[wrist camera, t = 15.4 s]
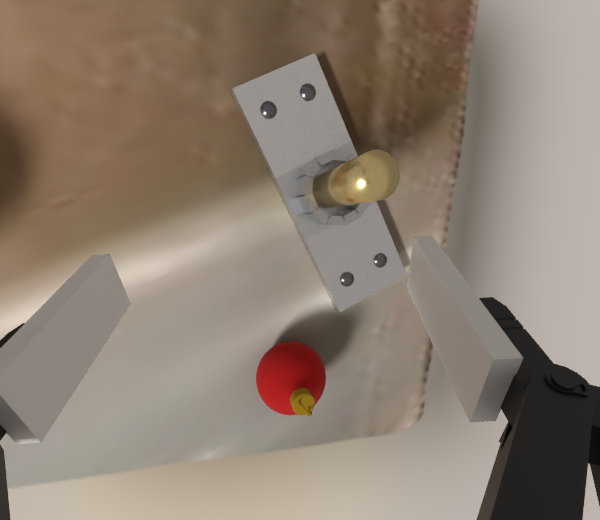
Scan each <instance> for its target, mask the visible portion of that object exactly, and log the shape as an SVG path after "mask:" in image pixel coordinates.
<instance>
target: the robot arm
mask: <svg viewBox="0 0 600 520" xmlns="http://www.w3.org/2000/svg"><path fill="white" fill-rule="evenodd" d="M407 290H408V292H409V294H410V297H411V299H412V301H413V303H414V305H415V307H416V309H417V311H418V313H419V315H420V318H421V320H422V322H423V324H424V326H425V328H426V330H427V332H428V334H429V337H430V339H431V341H432V343H433V345H434V347H435V349H436V351H437V353H438V356H439V358H440V360H441V362H442V364H443V366H444V368H445V370H446V372H447V374H448V377H449V379H450V381H451V383H452V385H453V387H454V389H455V391H456V394H457V396H458V397H459V400H460V402H461V404H462V406H463V408H464V410H465V412H466V415H467V417H468V418H469V421H470V422H480V421H482V422H483V421H496V419H497V417H498V414H499V412H500V410H501V409H502V411H503V413H504V414H505V416H506V418H507V420H508V424H507V426H506V428H505V430H504V432H503V434H502V436H501V438H500V440H499V442H501V444H500V447H499V450H498V453H497V457H496V460H495V463H494V466H493V470H492V473H491V476H490V479H489V482H488V485H487V488H486V492H485V495H484V498H483V501H482V504H481V508H480V511H479V514H478V517H477V520H582V517H583V507H584V497H585V487H586V476H587V466H588V463H589V464H590V466H591V470H592V475H593V479H594V484H595V488H596V492H597V496H598V501H599V505H600V387H597V386H593V385H589V383H588V382H587V381H586V380H585V379H584V378H583V377H581V376H580V375H579V374H578V373H576V372H574V371H572V370H570V369H568V368H566V367H564V366H560V365H557V364H554V363H553V362H552V361H551V360H550V359H549V357H548V356H547V355H546V354H545V353H544V351H543V350H542V349H541V348H540V347H539V345H538V344H537V343H536V342H535V341H534V339H533V338H532V337H531V336H530V335H529V333H528V332H527V331H526V330H525V329H523V326H522V325H521V324H520V323H519V321H518V320H516V319H515V316H514V315H513V314H512V313H511V312H510V310H508V308H507V307H506V306H505V305H503V304H502V303H500V302H499V301H497V300H496V299H494V298H493V297H490V298H478V297H477V295H476V294H475V292H474V291H473V290H472V288H471V287H470V286H469V284H468V283H467V282H466V281H465V279H464V278H463V276H462V275H461V274H460V272H459V271H458V270H457V268H456V267H455V266H454V264H453V263H452V262H451V260H450V259H449V258H448V256H447V255H446V254H445V252H444V251H443V250H442V248H441V247H440V246H439V244H438V243H437V242H436V240H435V239H434V238H433V236H421V237H414V242H413V248H412V255H411V262H410V269H409V276H408V283H407ZM130 304H131V303H130V301H129V298H128V296H127V294H126V291H125V289H124V287H123V284H122V282H121V279H120V277H119V275H118V272H117V270H116V268H115V265H114V263H113V261H112V258H111V256H110V254H105V255H92V256H91V257H90V258H89V259H88V260H87V261H86V262H85V263H84V264H83V265H82V266H81V267H80V268H79V269H78V270H77V271H76V272H75V273H74V274H73V275H72V276H71V277H70V278H69V279H68V280H67V281H66V282H65V283H64V284H63V285H62V286H61V287H60V288H59V289H58V290H57V291H56V293H55V294H54V295H53V296H52V297H51V298H50V299H49V300H48V301H47V302H46V303H45V304H44V305H43V306H42V307H41V308H40V309H39V310H38V311H37V312H36V313H35V314H34V315H33V316H32V317H31V318H30V319H29V320H28V321H27V322H26V323H23V324H21V325H20V326H18V327H17V328H15V329H14V330H12V331H11V332H9V333H8V334H7V335H6V336H5V337H4V338H2V339H1V340H0V440H1V439H2V438H3V436H4V435H5V434H6V433H7V434H8V435H9V436H10V437H11V438H12V439H13V440H14V441H15V442H16V444H18V443H39V442H42V440H43V439H44V437H45V435H46V434H47V432H48V431H49V429H50V428H51V426H52V425H53V423H54V422H55V420H56V418H57V417H58V415H59V414H60V412H61V411H62V409H63V408H64V406H65V404H66V403H67V401H68V400H69V398H70V397H71V395H72V394H73V392H74V391H75V389H76V387H77V386H78V384H79V383H80V381H81V380H82V378H83V377H84V375H85V373H86V372H87V370H88V369H89V367H90V366H91V364H92V363H93V361H94V360H95V358H96V356H97V355H98V353H99V352H100V350H101V349H102V347H103V346H104V344H105V343H106V341H107V339H108V338H109V336H110V335H111V333H112V332H113V330H114V329H115V327H116V325H117V324H118V322H119V321H120V319H121V318H122V316H123V315H124V313H125V312H126V310H127V308H128V307H129V305H130ZM0 520H10V512H9V501H8V491H7V480H6V469H5V459H4V450H3V448H2V446H1V445H0Z"/></svg>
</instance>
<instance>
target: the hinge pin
mask: <svg viewBox="0 0 600 520" xmlns="http://www.w3.org/2000/svg"><path fill="white" fill-rule="evenodd" d="M399 178H400V173H399V168H398V165H397V163H396V161H395V159H394V158H393V157H392V156H391V155H390V154H389V153H387V152H385V151H382V150H371V151H368V152H366V153H364V154H362V155H360V156H358V157H356V158H353V159H351V160H349V161H347V162H345V163H343V164H341V165H339V166H337V167H335V168H333V169H331V170H329V171H327V172H325V173H322V174H320V175H319V176H317V177H316V178H315V179H314V181H313V190H312V194H313V196H314V198H315V201H316V203H317V205H319V206H320V207H323V208H333V207H340V206H346V205H353V204H360V203H366V202H373V201H379V200H384V199H386V198H388V197H389V196H391V195H392V194H393V193H394V191H395V190H396V188H397V186H398V183H399Z"/></svg>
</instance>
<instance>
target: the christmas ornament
mask: <svg viewBox="0 0 600 520" xmlns="http://www.w3.org/2000/svg"><path fill="white" fill-rule="evenodd" d="M325 380H326V375H325V369H324V365H323V363H322V361H321V359H320V357H319V356H318V354H317V353H316V352H315V351H314V350H313V349H312V348H310V347H309V346H307V345H305V344H302V343H299V342H284V343H280V344H278V345H276V346H274V347H272V348H271V349H270V350H268V351H267V352H266V354H265V355H264V356H263V358H262V359H261V361H260V363H259V366H258V369H257V374H256V383H257V388H258V391H259V394H260V396H261V398H262V400H263V401H264V402H265V404H266V405H267V406H268V407H270V408H271V409H272V410H274V411H276V412H278V413H281V414H284V415H297V414H299V415H306V414H307V415H308V416H311V415H312V412H311V411H312V410H313V408H314V405H315V404H316V403H317V402H318V400H319V399H320V397H321V395H322V393H323V391H324V387H325Z"/></svg>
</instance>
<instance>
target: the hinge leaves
mask: <svg viewBox="0 0 600 520" xmlns="http://www.w3.org/2000/svg"><path fill="white" fill-rule="evenodd" d="M232 96H233V99H234V101H235V103H236V105H237V107H238V109H239V111H240V113H241V115H242V117H243V119H244V121H245V123H246V125H247V127H248V129H249V132H250V134H251V136H252V138H253V140H254V142H255V144H256V146H257V148H258V150H259V152H260V154H261V156H262V158H263V160H264V163H265V165H266V167H267V169H268V171H269V173H270V175H271V177H272V179H273V181H274V183H275V185H276V187H277V189H278V191H279V193H280V196H281V198H282V200H283V202H284V204H285V206H286V208H287V210H288V212H289V214H290V216H291V218H292V220H293V222H294V224H295V227H296V229H297V231H298V233H299V235H300V237H301V239H302V241H303V243H304V245H305V247H306V249H307V251H308V253H309V255H310V257H311V260H312V262H313V264H314V266H315V268H316V270H317V272H318V274H319V276H320V278H321V280H322V282H323V284H324V286H325V288H326V290H327V293H328V295H329V297H330V299H331V301H332V303H333V305H334V307H335V309H336V310H338V311H339V312H342V311H344V310H345V309H347V308H349V307H350V306H352V305H354V304H356V303H357V302H359V301H361V300H362V299H364V298H366V297H368V296H369V295H371V294H373V293H374V292H376V291H378V290H380V289H381V288H383V287H385V286H386V285H388V284H390V283H391V282H393V281H395V280H397V279H398V278H400V277H402V276H403V275H405V274H406V271H405V269H404V266H403V264H402V262H401V259H400V257H399V254H398V252H397V250H396V247H395V245H394V242H393V240H392V237H391V235H390V233H389V230H388V228H387V225H386V223H385V221H384V218H383V216H382V213H381V211H380V209H379V206H378V204H377V201H373V202H366V203H360V204H353V205H346V206H340V207H333V208H323V207H320V206H319V205H317V203H316V201H315V198H314V196H313V194H312V190H313V181H314V179H315V178H316V177H317V176H319V175H320V174H322V173H325V172H327V171H329V170H331V169H333V168H335V167H337V166H339V165H341V164H343V163H345V162H347V161H349V160H351V159H353V158H356V157H358V155H357V153H356V151H355V148H354V146H353V143H352V141H351V139H350V136H349V134H348V131H347V129H346V127H345V124H344V122H343V119H342V117H341V114H340V112H339V110H338V107H337V105H336V102H335V100H334V98H333V95H332V93H331V90H330V88H329V86H328V83H327V81H326V78H325V76H324V73H323V71H322V69H321V66H320V64H319V61H318V59H317V57H316V54H315V53H314V54H312V55H309V56H307V57H305V58H302V59H300V60H298V61H295V62H293V63H291V64H288V65H286V66H284V67H281V68H279V69H277V70H274V71H272V72H270V73H267V74H265V75H263V76H260V77H258V78H256V79H253V80H251V81H249V82H246V83H244V84H242V85H239V86H237V87H235V88H232Z"/></svg>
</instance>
